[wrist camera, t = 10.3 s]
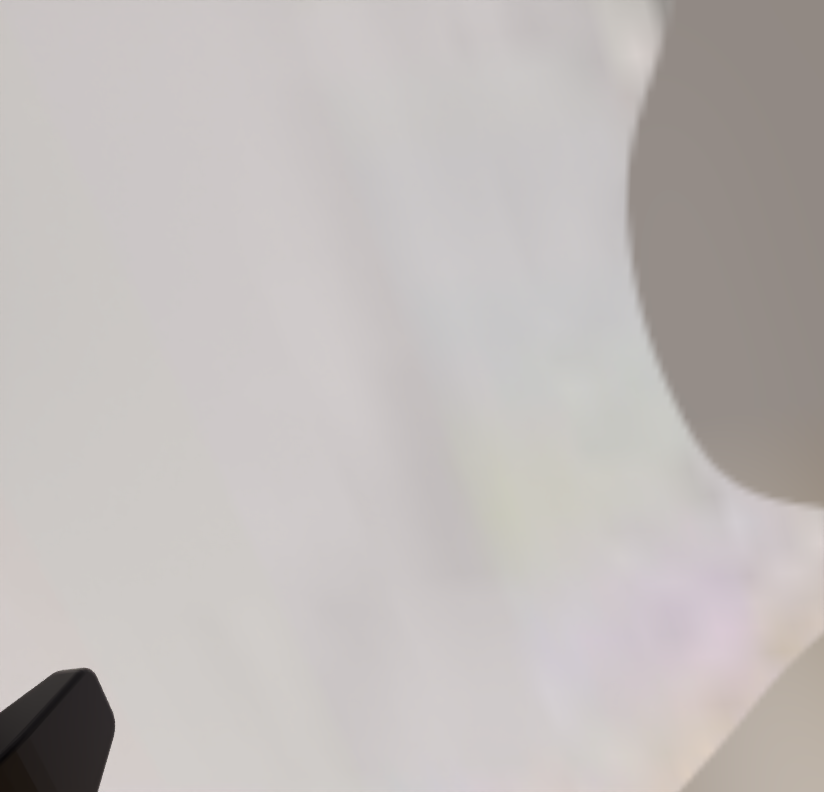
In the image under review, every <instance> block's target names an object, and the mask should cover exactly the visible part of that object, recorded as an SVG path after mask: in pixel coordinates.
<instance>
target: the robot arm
mask: <svg viewBox="0 0 824 792" xmlns="http://www.w3.org/2000/svg"><path fill="white" fill-rule="evenodd" d="M114 732H115V719H114V715H113V712H112V709H111V707H110V705H109V703H108V701H107V698H106V696H105V694H104V692H103V689H102V687H101V685H100V683H99V681H98V678H97V676H96V674H95V673H94V672H93V671H92V670H90V669H88V668H77V669H68V670H61V671H57V672H55V673H53V674H52V675H50V676H49V677H48V678H46V679H45V680H44V681H42V682H41V683H40V684H38V685H37V686H35V687H34V688H33V689H31V690H30V691H29V692H27V693H26V694H25V695H23V696H22V697H21V698H19V699H18V700H17V701H15V702H14V703H12V704H11V705H10V706H8V707H7V708H6V709H4V710H3V711H2V712H0V792H98V789H99V786H100V782H101V779H102V775H103V772H104V769H105V765H106V762H107V758H108V755H109V751H110V748H111V744H112V741H113V737H114Z"/></svg>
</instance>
